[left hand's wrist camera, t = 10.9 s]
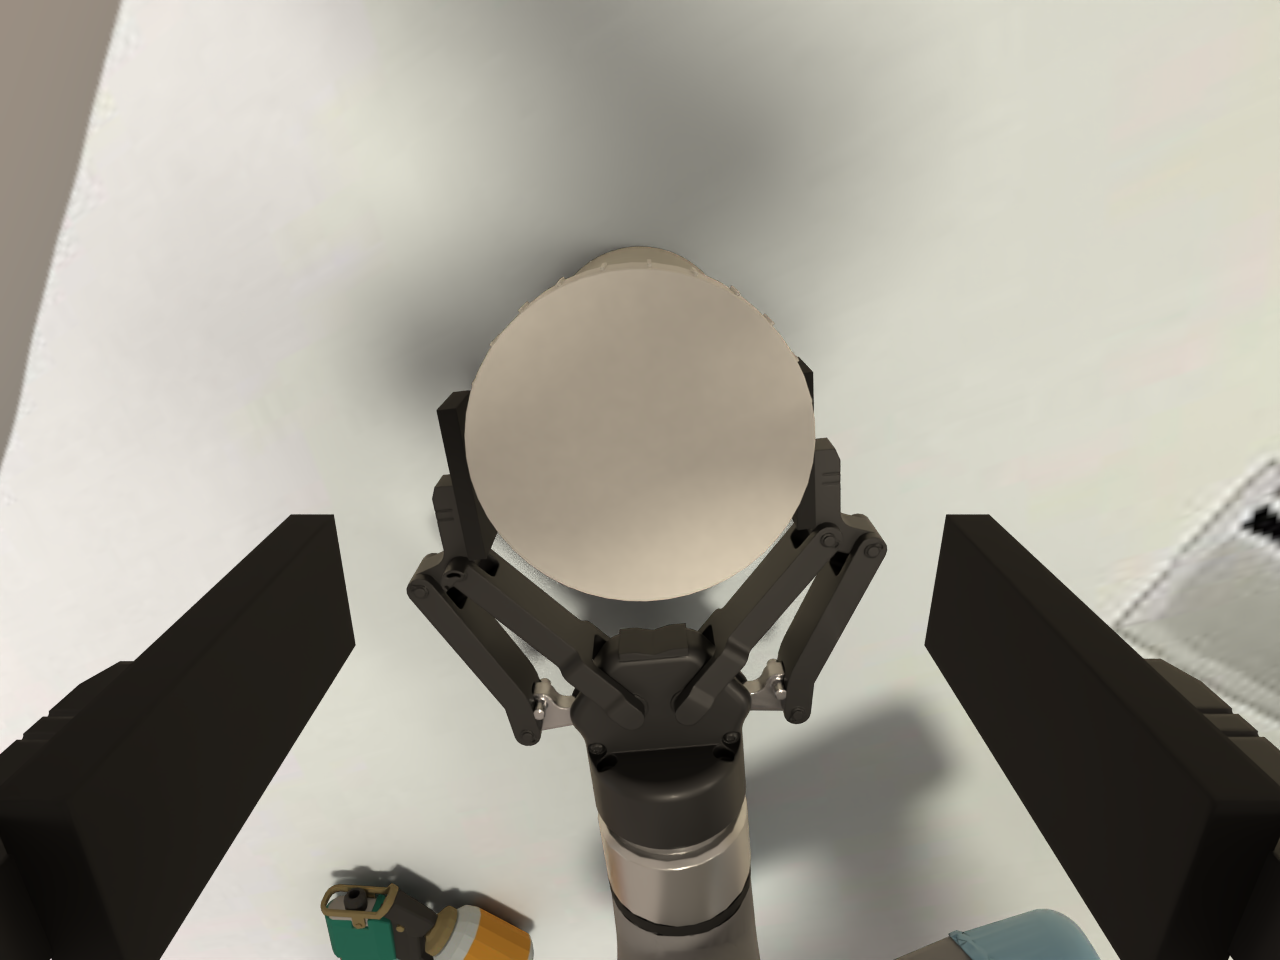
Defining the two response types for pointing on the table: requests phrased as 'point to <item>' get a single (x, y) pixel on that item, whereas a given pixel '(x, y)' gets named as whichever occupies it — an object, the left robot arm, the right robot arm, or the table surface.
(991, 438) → the table surface
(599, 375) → the lid
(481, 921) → the spray gun
